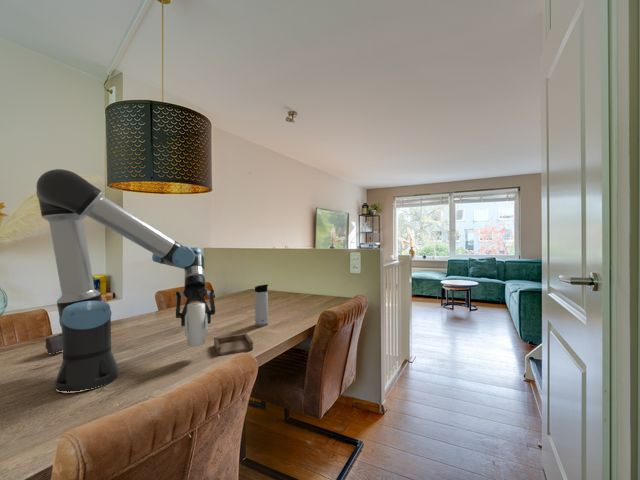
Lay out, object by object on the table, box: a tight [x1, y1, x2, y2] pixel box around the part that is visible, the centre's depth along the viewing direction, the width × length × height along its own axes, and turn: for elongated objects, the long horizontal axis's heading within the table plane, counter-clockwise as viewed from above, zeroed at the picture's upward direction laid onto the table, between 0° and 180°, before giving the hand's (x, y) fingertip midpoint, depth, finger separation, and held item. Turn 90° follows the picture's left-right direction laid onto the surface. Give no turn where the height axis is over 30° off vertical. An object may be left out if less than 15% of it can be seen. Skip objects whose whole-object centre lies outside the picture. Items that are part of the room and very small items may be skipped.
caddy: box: [213, 333, 254, 357], centre depth 117 cm, size 13×12×3 cm
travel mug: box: [254, 284, 269, 327], centre depth 148 cm, size 6×7×20 cm
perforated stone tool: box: [45, 333, 63, 354], centre depth 117 cm, size 15×5×7 cm, turn 173°
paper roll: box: [186, 302, 206, 347], centre depth 107 cm, size 6×6×14 cm
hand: (196, 332), depth 104 cm, fingers closed on paper roll, 6 cm apart
